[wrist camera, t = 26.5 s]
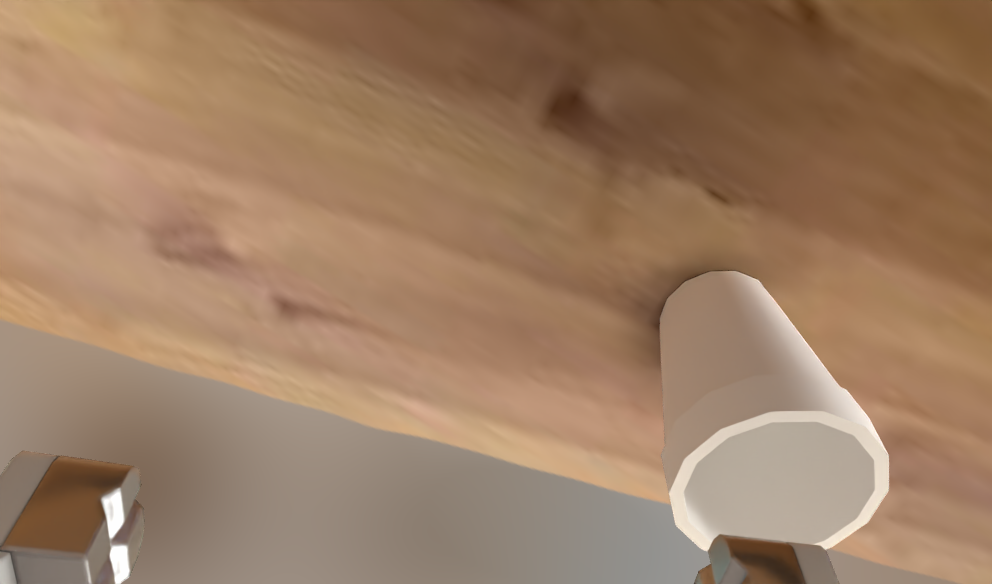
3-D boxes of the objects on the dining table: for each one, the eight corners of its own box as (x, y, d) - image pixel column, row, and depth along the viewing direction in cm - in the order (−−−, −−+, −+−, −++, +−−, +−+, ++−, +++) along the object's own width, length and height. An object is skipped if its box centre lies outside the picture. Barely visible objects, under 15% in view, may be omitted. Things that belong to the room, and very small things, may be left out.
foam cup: (599, 308, 48) (627, 480, 37) (743, 213, 44) (822, 372, 34) (692, 407, 52) (743, 588, 41) (831, 327, 48) (926, 502, 38)
